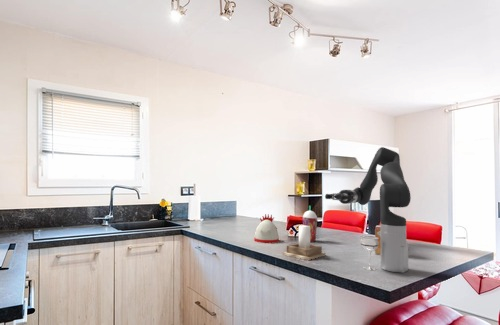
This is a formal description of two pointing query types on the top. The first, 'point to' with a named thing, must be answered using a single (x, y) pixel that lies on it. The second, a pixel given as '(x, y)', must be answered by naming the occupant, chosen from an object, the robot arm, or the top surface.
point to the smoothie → (310, 223)
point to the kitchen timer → (266, 231)
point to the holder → (304, 252)
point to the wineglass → (369, 247)
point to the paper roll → (304, 237)
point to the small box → (378, 235)
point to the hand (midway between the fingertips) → (333, 197)
